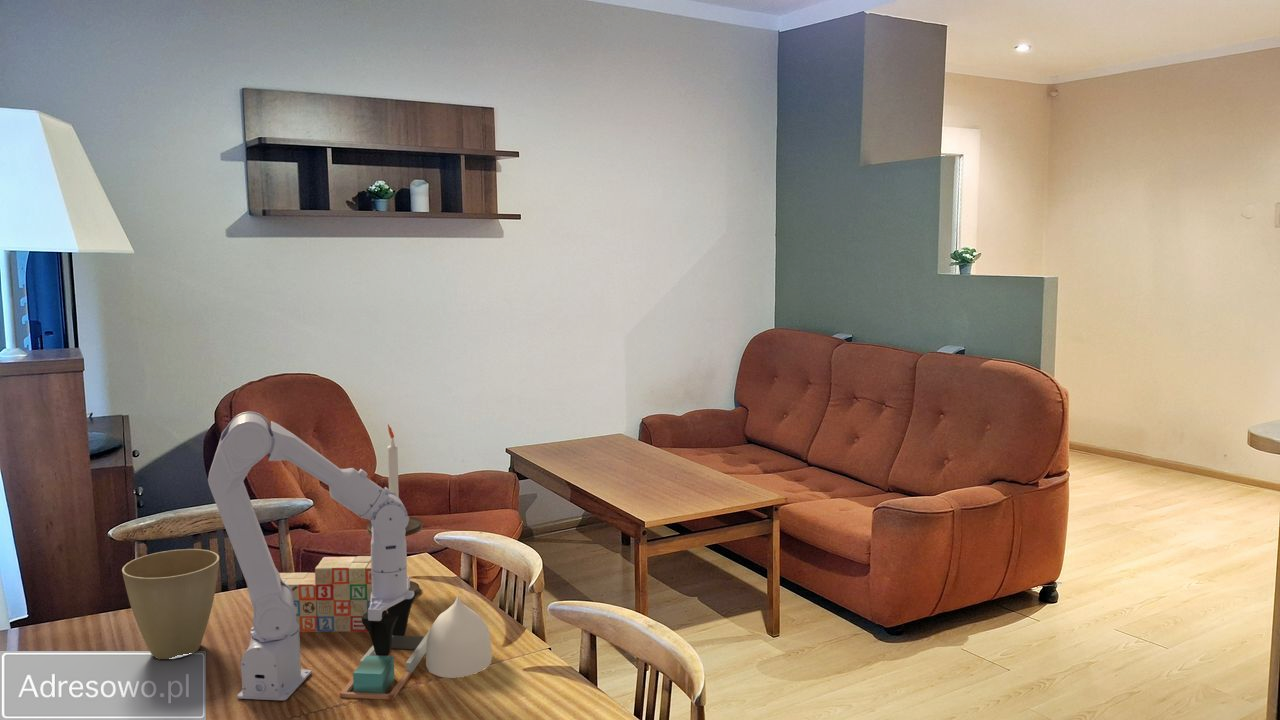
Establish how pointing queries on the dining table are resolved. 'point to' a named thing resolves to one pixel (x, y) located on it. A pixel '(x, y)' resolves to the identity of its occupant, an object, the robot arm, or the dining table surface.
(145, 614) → the plant pot
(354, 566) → the stack of blocks
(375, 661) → the block
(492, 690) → the dining table surface
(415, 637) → the channel
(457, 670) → the teardrop
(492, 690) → the dining table surface
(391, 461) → the candlestick
